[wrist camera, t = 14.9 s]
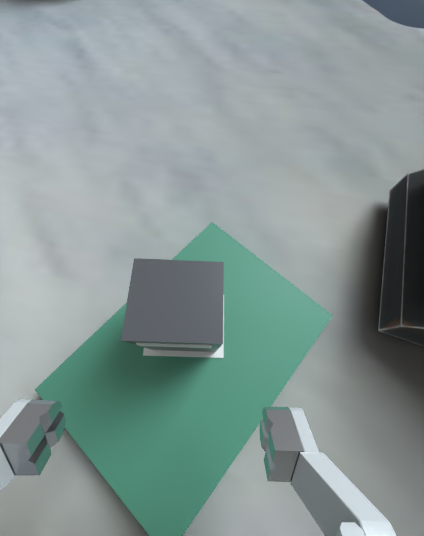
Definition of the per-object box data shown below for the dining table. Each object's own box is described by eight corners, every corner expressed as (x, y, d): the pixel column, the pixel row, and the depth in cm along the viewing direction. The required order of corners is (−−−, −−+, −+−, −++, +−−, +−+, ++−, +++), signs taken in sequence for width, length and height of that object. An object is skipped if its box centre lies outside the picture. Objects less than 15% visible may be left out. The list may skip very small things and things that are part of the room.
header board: (211, 229, 25) (212, 221, 24) (324, 318, 22) (333, 315, 21) (47, 387, 19) (33, 389, 18) (170, 541, 16) (166, 559, 14)
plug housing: (216, 298, 21) (223, 261, 13) (215, 353, 19) (223, 345, 12) (159, 296, 21) (134, 258, 13) (152, 351, 19) (120, 342, 12)
